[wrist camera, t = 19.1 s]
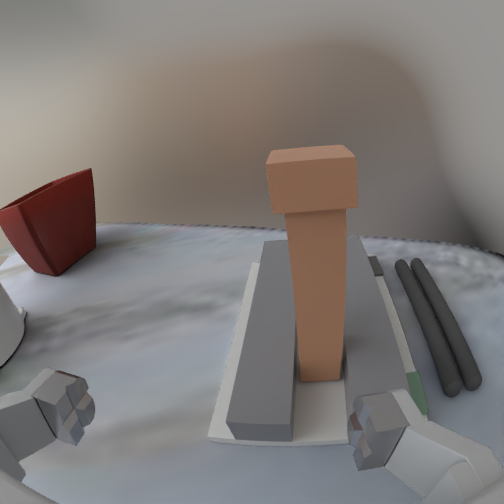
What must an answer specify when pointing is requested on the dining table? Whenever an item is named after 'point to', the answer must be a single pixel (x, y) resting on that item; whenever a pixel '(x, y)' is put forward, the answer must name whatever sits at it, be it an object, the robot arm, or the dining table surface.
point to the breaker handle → (316, 246)
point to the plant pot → (53, 223)
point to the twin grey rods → (433, 332)
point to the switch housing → (287, 358)
